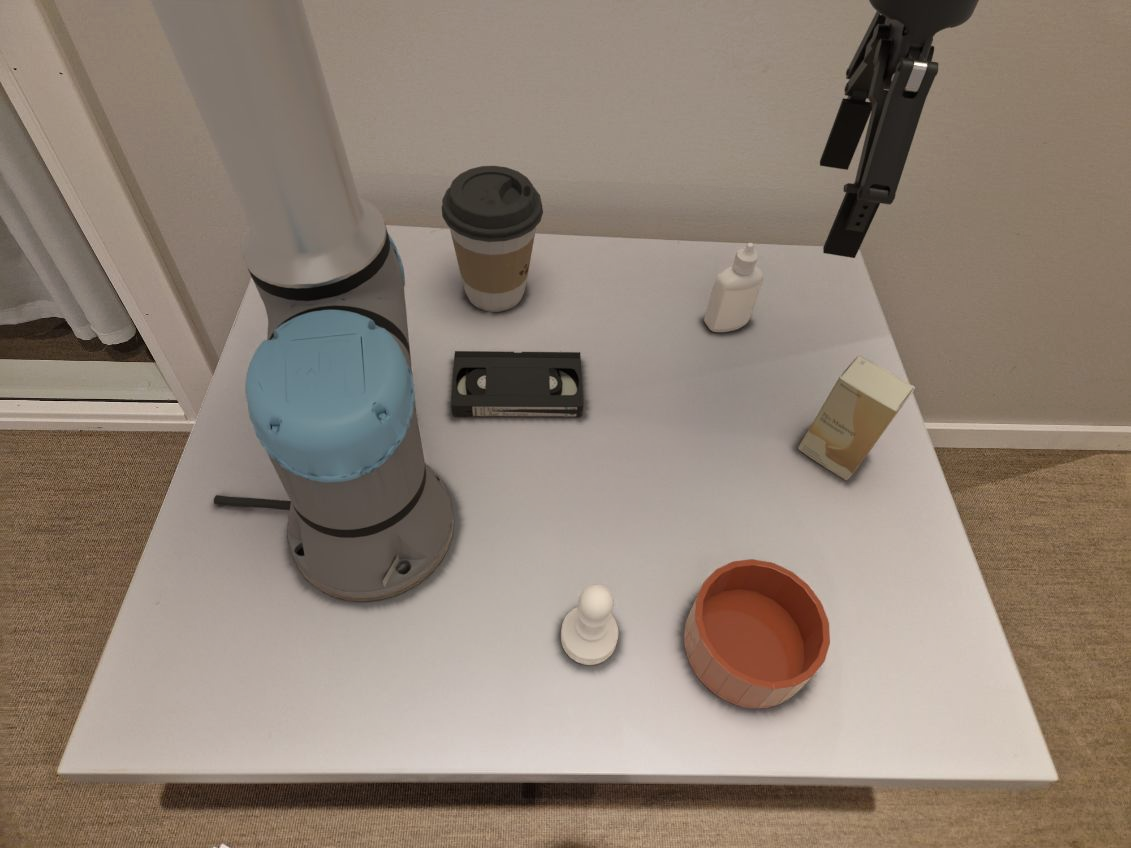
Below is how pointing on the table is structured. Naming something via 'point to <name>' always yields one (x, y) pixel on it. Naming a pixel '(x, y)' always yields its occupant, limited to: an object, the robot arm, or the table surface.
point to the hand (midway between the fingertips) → (835, 207)
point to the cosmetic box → (854, 416)
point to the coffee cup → (493, 233)
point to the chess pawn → (590, 627)
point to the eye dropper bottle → (735, 293)
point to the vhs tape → (517, 384)
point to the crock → (756, 633)
